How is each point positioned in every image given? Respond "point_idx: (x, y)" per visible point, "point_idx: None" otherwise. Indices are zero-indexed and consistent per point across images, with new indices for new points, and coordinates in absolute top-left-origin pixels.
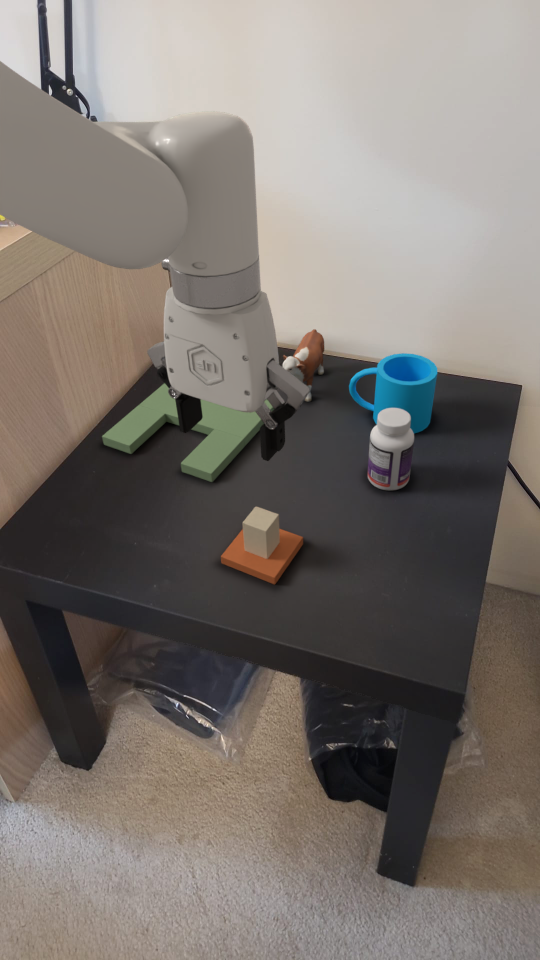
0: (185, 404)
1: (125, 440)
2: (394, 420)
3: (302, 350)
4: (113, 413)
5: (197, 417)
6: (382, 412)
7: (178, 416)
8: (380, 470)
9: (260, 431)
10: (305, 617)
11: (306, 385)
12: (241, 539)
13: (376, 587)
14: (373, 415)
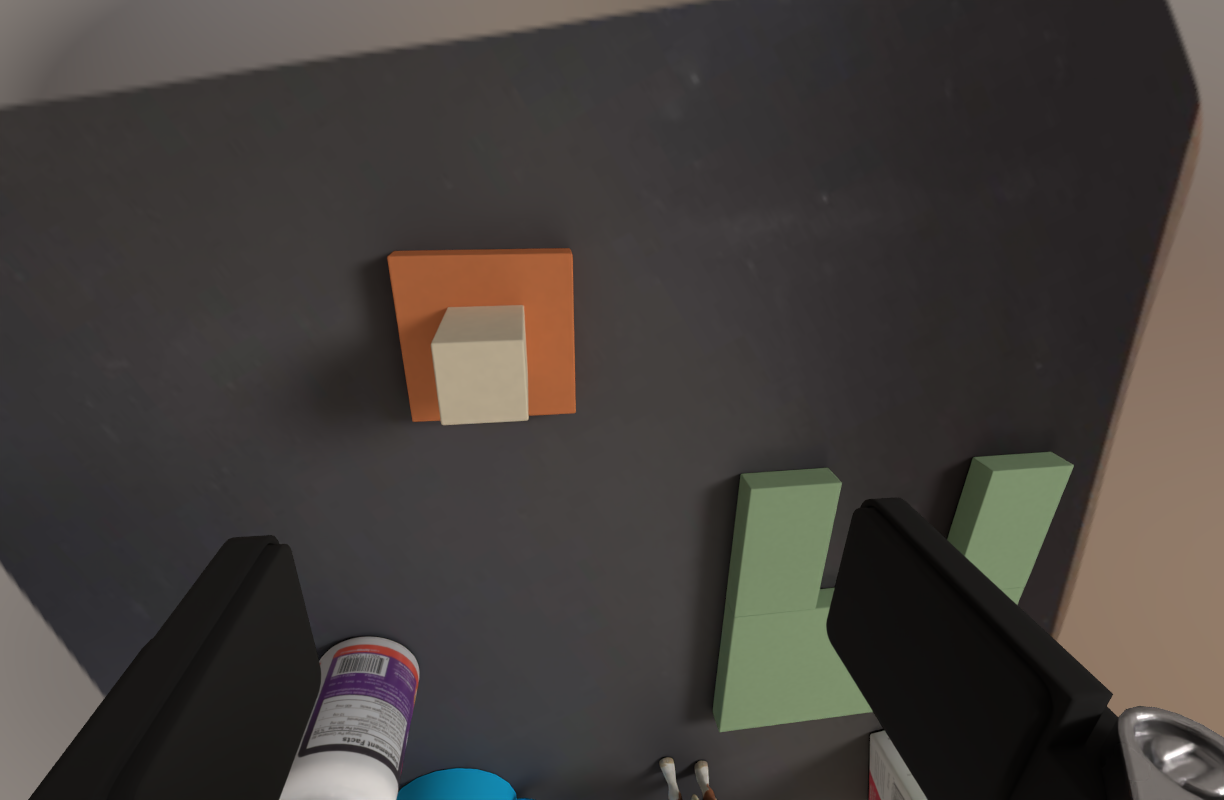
0: (996, 693)
1: (1010, 480)
2: None
3: None
4: (1066, 542)
5: (851, 624)
6: None
7: (979, 574)
8: (349, 685)
9: (140, 765)
10: (242, 185)
11: (680, 798)
12: (555, 336)
13: (154, 374)
14: (507, 790)
